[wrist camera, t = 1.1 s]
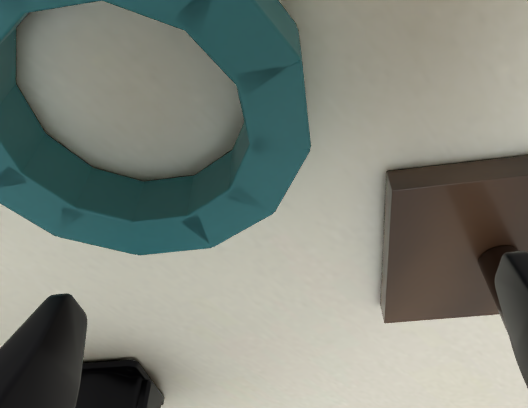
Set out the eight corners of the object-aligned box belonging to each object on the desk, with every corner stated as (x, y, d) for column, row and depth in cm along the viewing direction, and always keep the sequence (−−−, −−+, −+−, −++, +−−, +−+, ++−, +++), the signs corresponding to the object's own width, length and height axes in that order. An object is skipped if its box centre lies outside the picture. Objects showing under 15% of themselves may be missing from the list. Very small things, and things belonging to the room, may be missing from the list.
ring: (57, 224, 21) (38, 265, 19) (-143, -64, 13) (-206, -37, 11) (315, 196, 20) (320, 237, 18) (279, -146, 11) (282, -129, 10)
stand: (380, 304, 26) (411, 453, 20) (386, 170, 19) (437, 341, 13) (567, 289, 25) (655, 441, 19) (647, 140, 18) (821, 312, 12)
